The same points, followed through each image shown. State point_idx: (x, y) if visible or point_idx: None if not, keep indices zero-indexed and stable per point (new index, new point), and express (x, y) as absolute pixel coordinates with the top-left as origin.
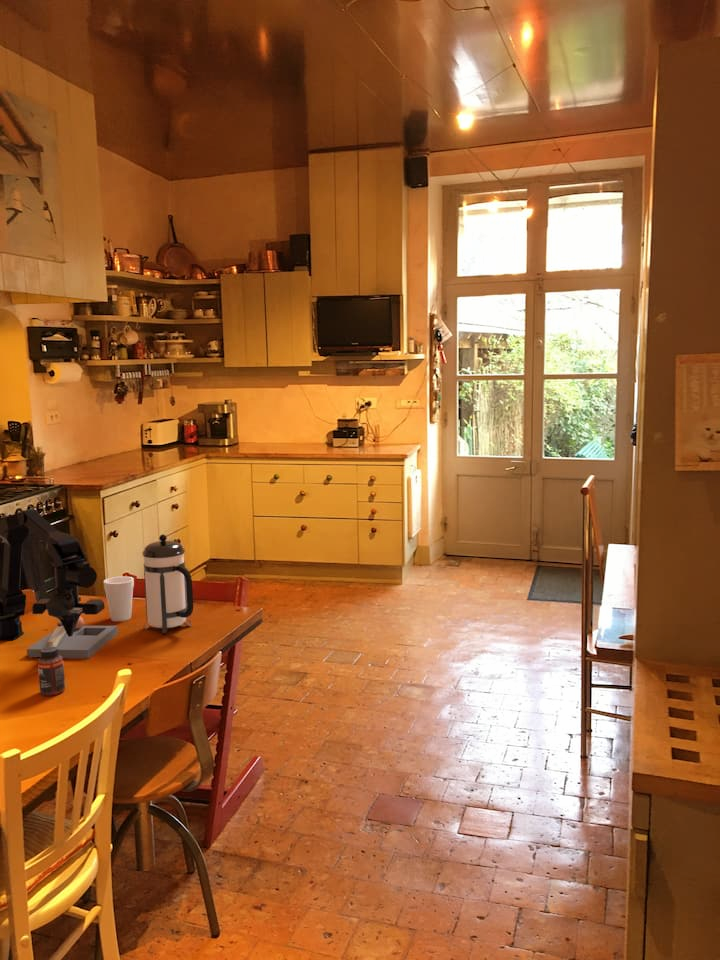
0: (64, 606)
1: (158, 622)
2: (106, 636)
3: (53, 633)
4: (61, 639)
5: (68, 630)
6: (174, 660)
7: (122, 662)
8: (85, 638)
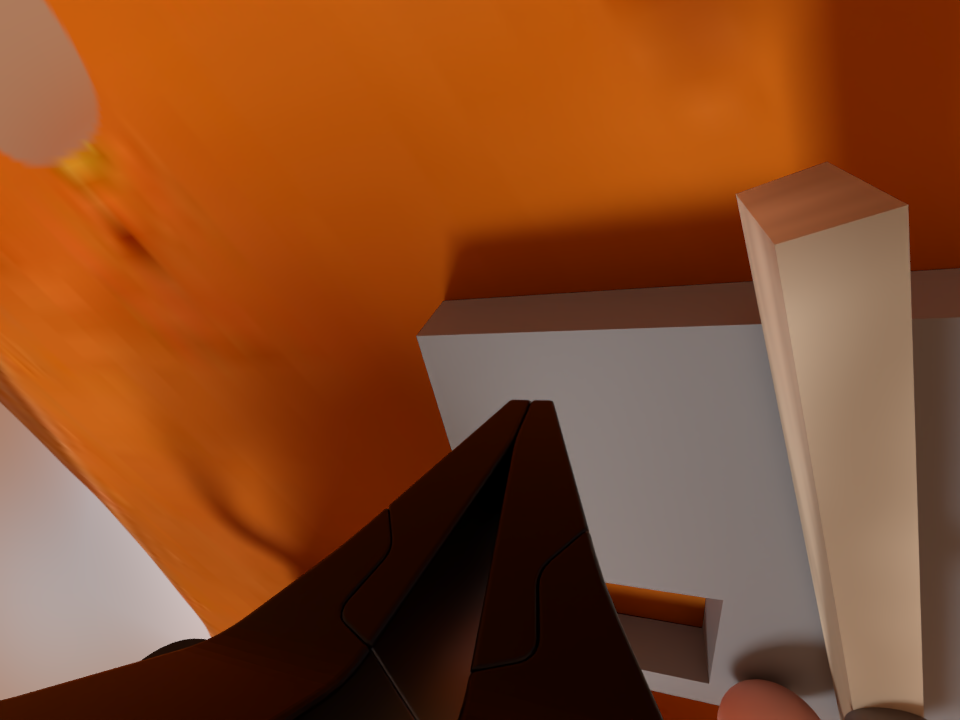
0: None
1: None
2: None
3: (906, 555)
4: None
5: (509, 456)
6: (21, 319)
7: (187, 260)
8: (596, 542)
